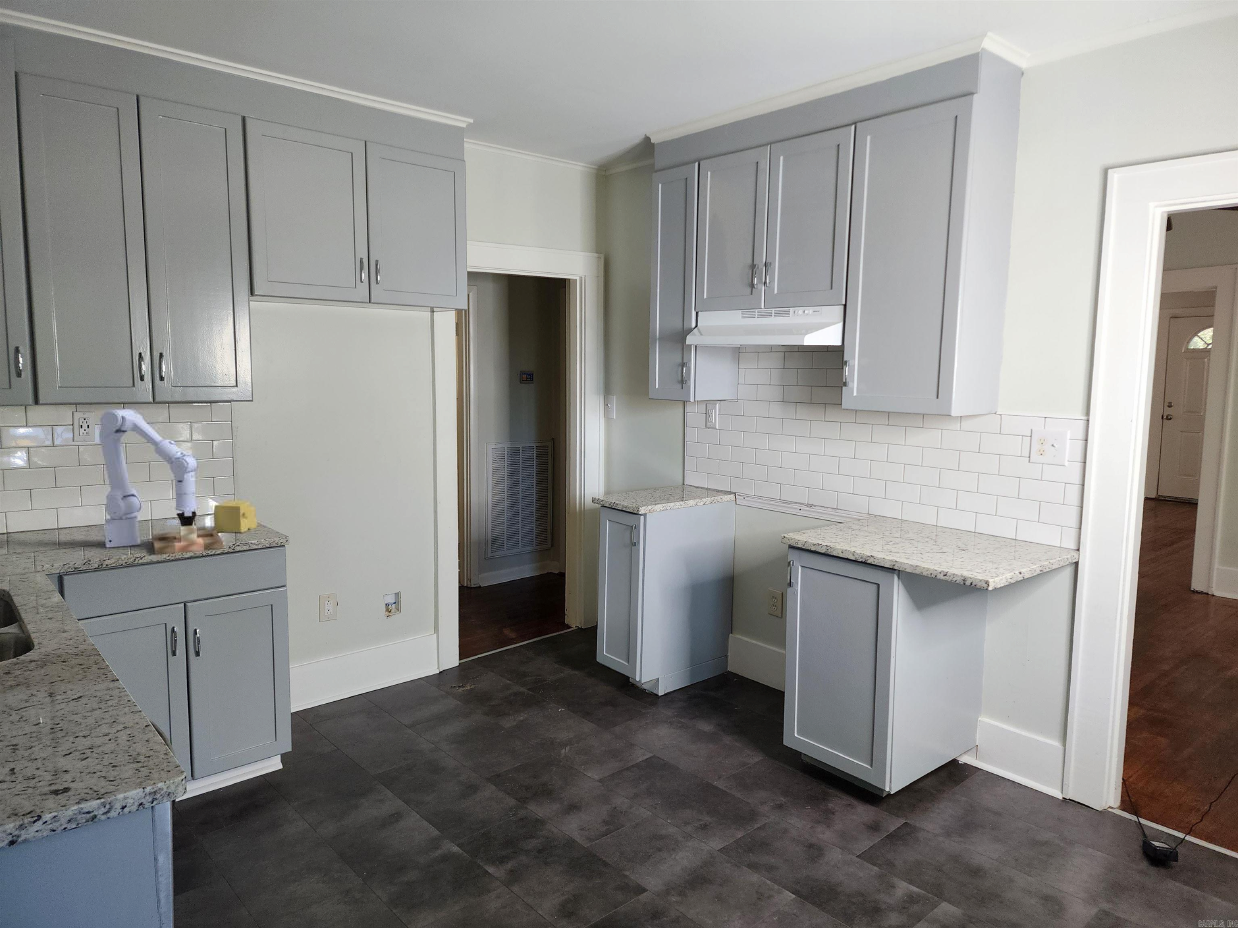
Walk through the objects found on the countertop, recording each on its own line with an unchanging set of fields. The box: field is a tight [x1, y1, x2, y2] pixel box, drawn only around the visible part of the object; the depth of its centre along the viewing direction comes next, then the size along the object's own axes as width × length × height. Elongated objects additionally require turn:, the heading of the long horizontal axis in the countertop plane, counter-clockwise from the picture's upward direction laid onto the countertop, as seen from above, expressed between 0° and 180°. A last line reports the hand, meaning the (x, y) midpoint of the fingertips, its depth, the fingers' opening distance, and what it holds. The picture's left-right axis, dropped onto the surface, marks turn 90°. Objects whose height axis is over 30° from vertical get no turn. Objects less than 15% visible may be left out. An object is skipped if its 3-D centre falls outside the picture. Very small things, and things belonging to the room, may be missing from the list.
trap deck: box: [151, 528, 224, 556], centre depth 267 cm, size 19×22×2 cm
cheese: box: [213, 499, 258, 533], centre depth 293 cm, size 10×11×10 cm
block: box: [179, 524, 198, 543], centre depth 262 cm, size 4×4×4 cm
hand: (187, 534), depth 265 cm, fingers closed
